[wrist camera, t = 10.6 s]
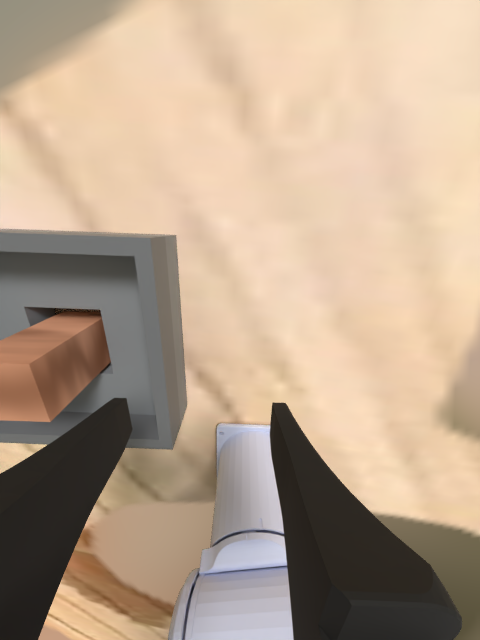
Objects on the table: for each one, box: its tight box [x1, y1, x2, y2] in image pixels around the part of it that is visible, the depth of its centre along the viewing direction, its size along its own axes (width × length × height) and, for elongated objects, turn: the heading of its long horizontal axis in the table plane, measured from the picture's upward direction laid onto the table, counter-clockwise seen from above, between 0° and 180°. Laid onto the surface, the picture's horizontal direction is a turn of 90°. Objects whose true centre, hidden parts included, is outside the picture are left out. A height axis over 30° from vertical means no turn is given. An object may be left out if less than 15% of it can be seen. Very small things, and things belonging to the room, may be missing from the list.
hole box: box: [0, 229, 187, 449], centre depth 18 cm, size 16×16×5 cm
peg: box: [0, 311, 111, 422], centre depth 17 cm, size 4×4×8 cm
